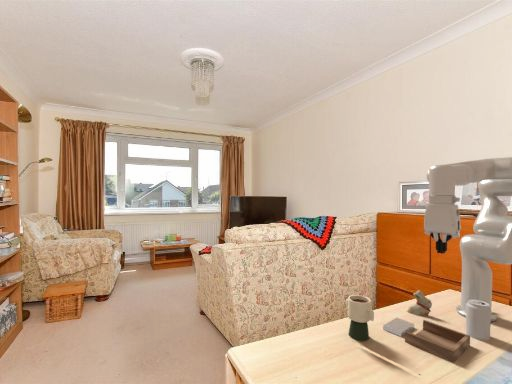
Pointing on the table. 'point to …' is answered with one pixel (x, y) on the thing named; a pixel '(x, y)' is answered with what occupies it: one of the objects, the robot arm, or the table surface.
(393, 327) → the concrete block
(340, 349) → the table surface
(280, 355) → the table surface
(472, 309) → the beverage can
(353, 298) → the character mug
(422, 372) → the table surface
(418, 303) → the grey figurine
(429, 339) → the walnut box
